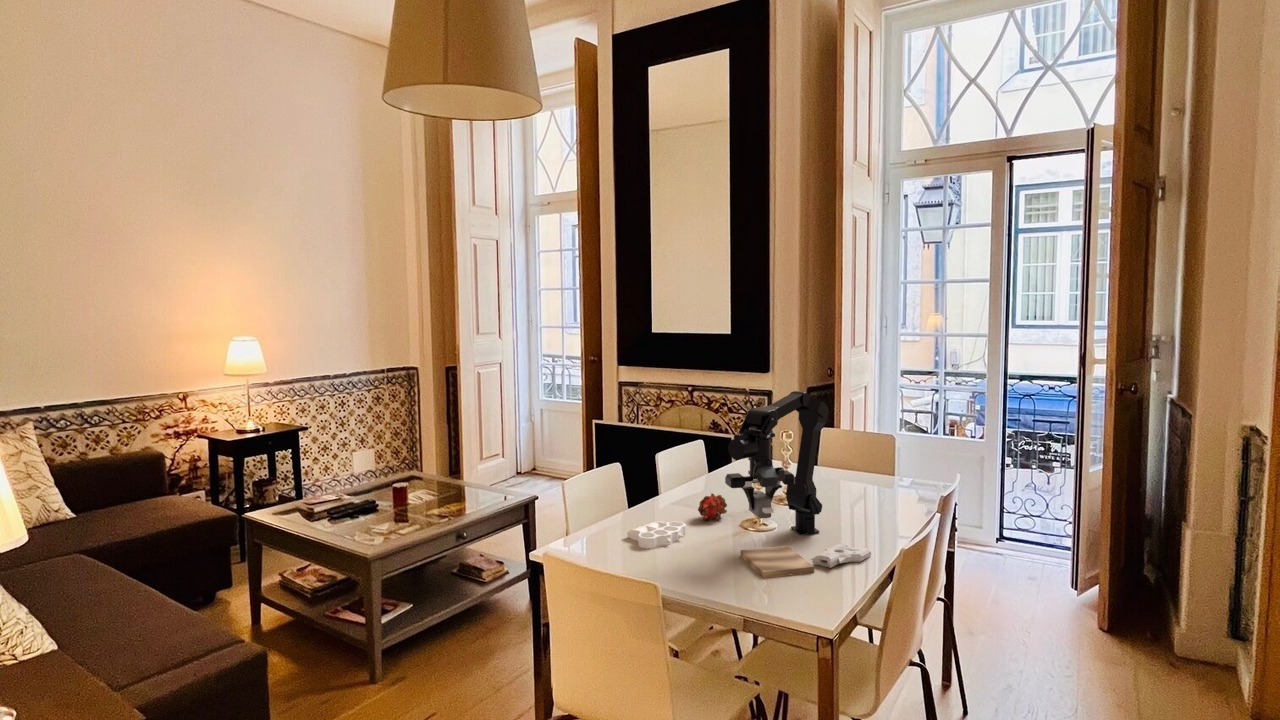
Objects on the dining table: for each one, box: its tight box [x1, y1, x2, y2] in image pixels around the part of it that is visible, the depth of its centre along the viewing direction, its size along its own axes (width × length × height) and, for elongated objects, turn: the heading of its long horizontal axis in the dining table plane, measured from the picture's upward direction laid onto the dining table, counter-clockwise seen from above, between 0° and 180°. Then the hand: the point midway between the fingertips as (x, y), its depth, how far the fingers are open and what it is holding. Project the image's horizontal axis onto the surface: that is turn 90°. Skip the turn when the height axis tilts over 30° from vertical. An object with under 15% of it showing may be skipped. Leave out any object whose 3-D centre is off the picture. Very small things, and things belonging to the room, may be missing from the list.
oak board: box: [739, 545, 815, 579], centre depth 186 cm, size 16×14×2 cm
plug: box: [748, 490, 774, 519], centre depth 196 cm, size 14×4×5 cm, turn 11°
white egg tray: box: [626, 520, 687, 549], centre depth 207 cm, size 3×18×15 cm
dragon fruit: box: [697, 493, 728, 521], centre depth 225 cm, size 8×8×12 cm
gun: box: [810, 543, 872, 568], centre depth 188 cm, size 18×4×10 cm
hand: (759, 509), depth 196 cm, fingers closed on plug, 4 cm apart
